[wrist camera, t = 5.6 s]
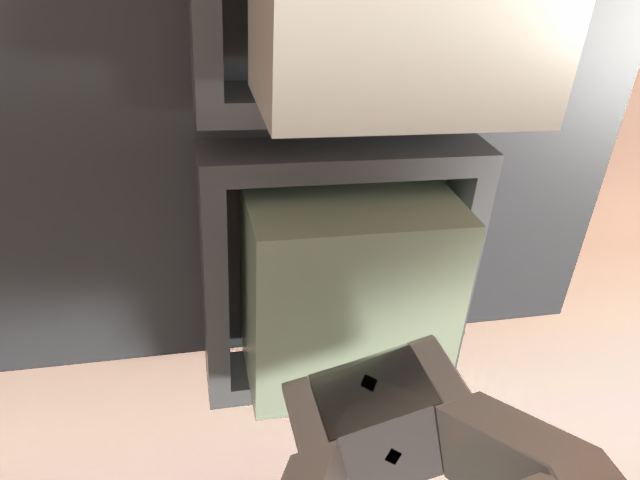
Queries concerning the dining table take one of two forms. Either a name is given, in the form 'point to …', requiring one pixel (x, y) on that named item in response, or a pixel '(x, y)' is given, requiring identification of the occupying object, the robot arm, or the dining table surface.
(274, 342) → the sage key
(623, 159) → the dining table surface
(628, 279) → the dining table surface
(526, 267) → the keypad base
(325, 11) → the cream key
